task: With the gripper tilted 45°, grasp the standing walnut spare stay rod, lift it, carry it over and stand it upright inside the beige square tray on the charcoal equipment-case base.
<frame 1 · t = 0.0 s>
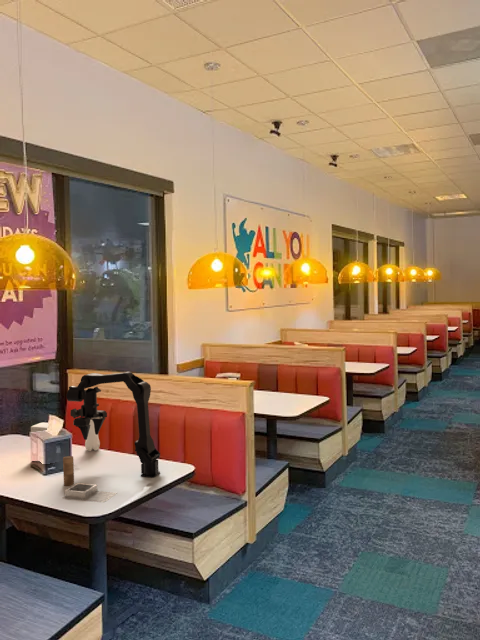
hand: (91, 437, 250), 15 cm above the table, tool pointing down, fingers open, 9 cm apart
beige square tray: (81, 494, 216), resting on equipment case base
spare stay rod: (69, 487, 228), on the table
water bottle: (92, 450, 282), on the table
supplement box: (45, 460, 267), on the table
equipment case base: (89, 499, 215), on the table
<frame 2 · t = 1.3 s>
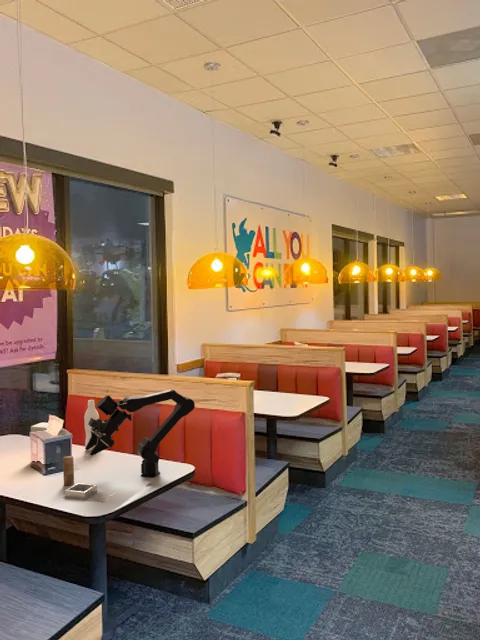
hand: (88, 452, 231), 13 cm above the table, tool tilted 45°, fingers open, 9 cm apart
nothing on the table moved.
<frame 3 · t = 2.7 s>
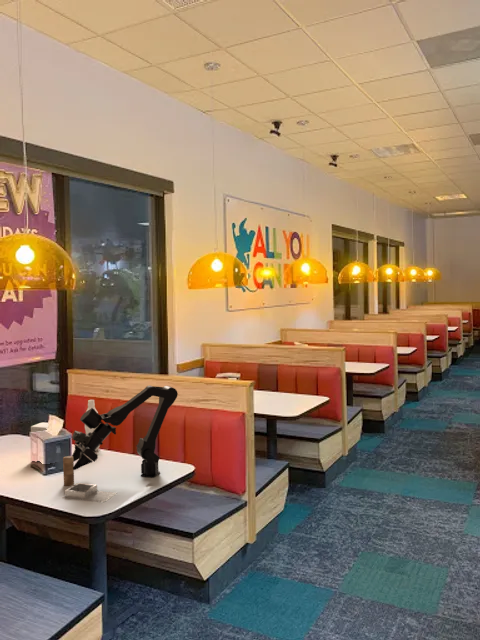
hand: (71, 466, 228), 9 cm above the table, tool tilted 45°, fingers open, 9 cm apart
nothing on the table moved.
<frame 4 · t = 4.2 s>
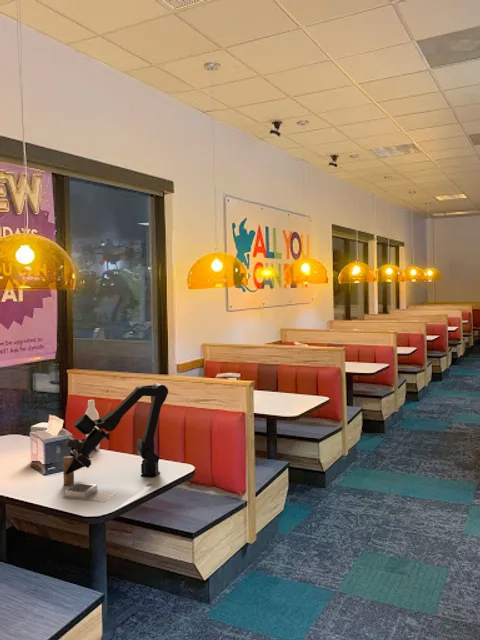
hand: (65, 472, 227), 7 cm above the table, tool tilted 45°, fingers closed on spare stay rod, 4 cm apart
spare stay rod: (69, 487, 228), on the table, touching gripper
everything else where it was.
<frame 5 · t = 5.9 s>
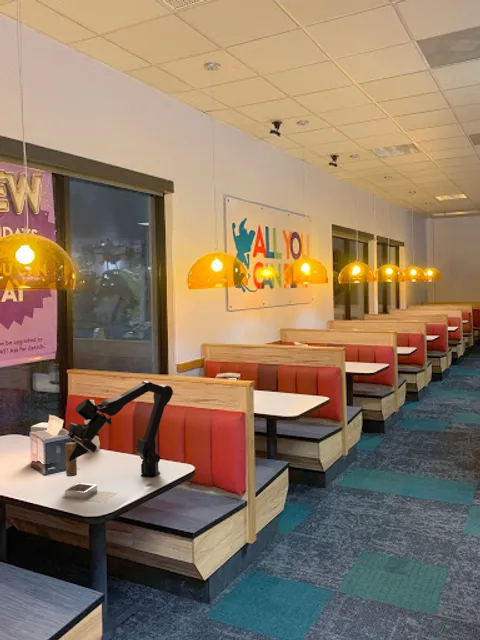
hand: (67, 459, 222), 13 cm above the table, tool tilted 45°, fingers closed on spare stay rod, 4 cm apart
spare stay rod: (71, 474, 223), point 7 cm above the table, touching gripper
everything else where it was.
when the fingers open (9 cm above the table, at t = 7.9 s): spare stay rod stays where it is, resting on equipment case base.
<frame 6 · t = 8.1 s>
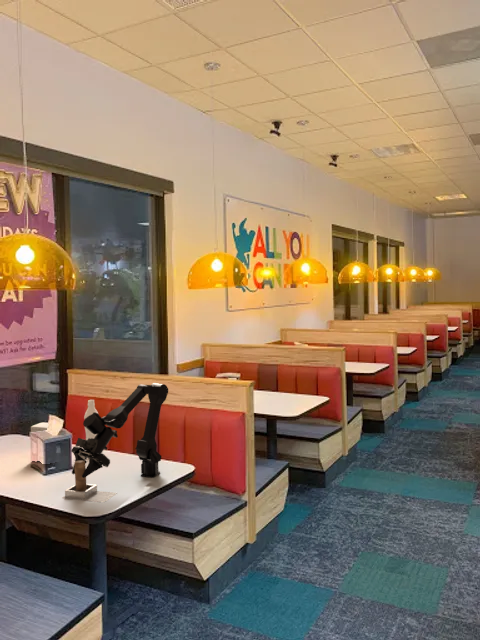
hand: (77, 475, 215), 9 cm above the table, tool tilted 45°, fingers open, 6 cm apart
spare stay rod: (81, 493, 216), point 2 cm above the table, touching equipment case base
everything else where it was.
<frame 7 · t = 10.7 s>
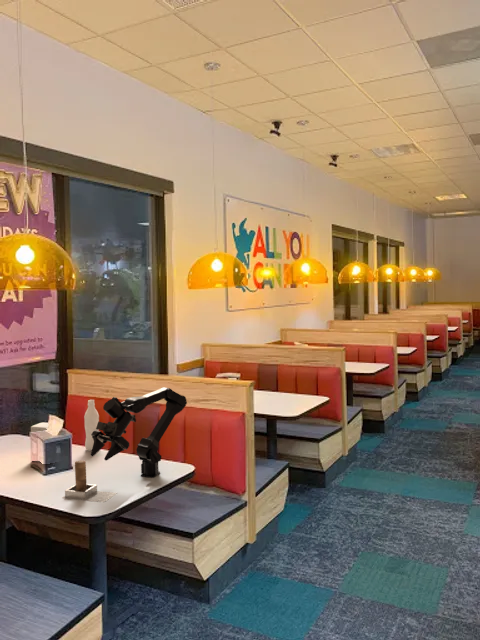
hand: (98, 457, 222), 14 cm above the table, tool tilted 45°, fingers open, 9 cm apart
nothing on the table moved.
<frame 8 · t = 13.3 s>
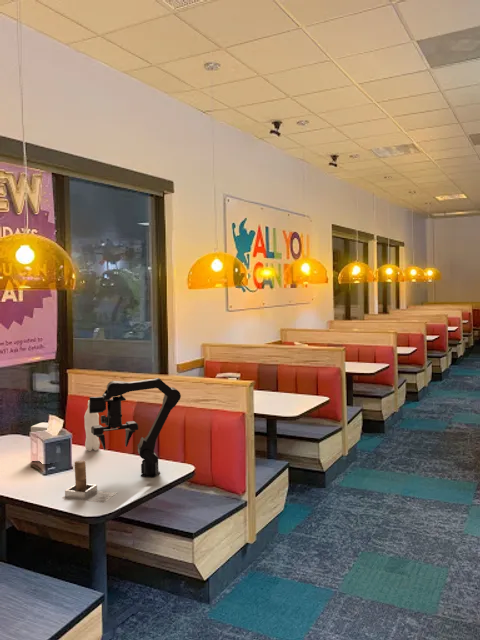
hand: (115, 448, 238), 13 cm above the table, tool pointing down, fingers open, 9 cm apart
nothing on the table moved.
at the end: spare stay rod 0.0 cm off-centre on the beige square tray, point 0.1 cm above the beige square tray's base; spare stay rod tilted 2°; the gripper is holding nothing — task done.
